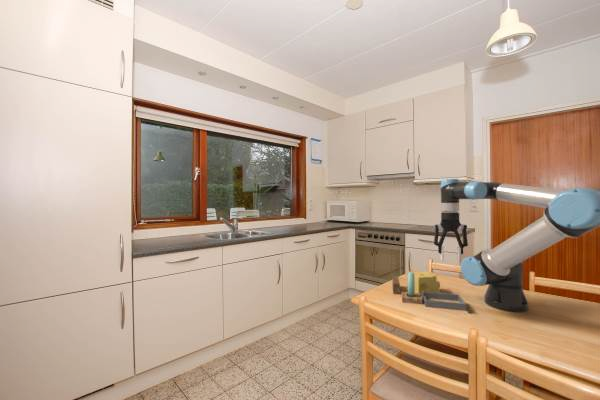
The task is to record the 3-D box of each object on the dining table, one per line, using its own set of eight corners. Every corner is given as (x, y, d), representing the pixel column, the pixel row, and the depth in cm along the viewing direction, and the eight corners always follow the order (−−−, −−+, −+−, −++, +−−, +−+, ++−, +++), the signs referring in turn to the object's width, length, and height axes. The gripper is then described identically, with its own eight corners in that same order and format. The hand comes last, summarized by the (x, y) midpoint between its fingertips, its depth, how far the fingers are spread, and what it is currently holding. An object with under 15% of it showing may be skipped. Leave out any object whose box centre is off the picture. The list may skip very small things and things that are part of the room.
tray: (459, 302, 120) (458, 294, 120) (466, 313, 110) (466, 304, 110) (421, 299, 125) (421, 291, 125) (425, 309, 114) (425, 300, 114)
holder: (419, 299, 125) (419, 293, 125) (422, 306, 117) (422, 299, 117) (401, 298, 127) (401, 291, 127) (402, 304, 119) (402, 297, 119)
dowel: (414, 299, 123) (414, 272, 123) (415, 301, 120) (414, 274, 120) (407, 298, 124) (407, 272, 124) (408, 300, 121) (407, 273, 121)
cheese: (441, 298, 126) (440, 277, 126) (417, 298, 126) (417, 277, 126) (430, 290, 136) (430, 270, 136) (409, 291, 137) (408, 271, 137)
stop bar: (398, 288, 140) (398, 276, 140) (399, 296, 129) (399, 283, 129) (392, 287, 141) (392, 276, 141) (393, 295, 130) (393, 283, 130)
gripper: (471, 211, 128) (471, 260, 129) (426, 211, 134) (426, 258, 134) (476, 212, 121) (476, 263, 121) (428, 212, 127) (429, 261, 127)
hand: (450, 260), depth 128 cm, fingers open, 6 cm apart
